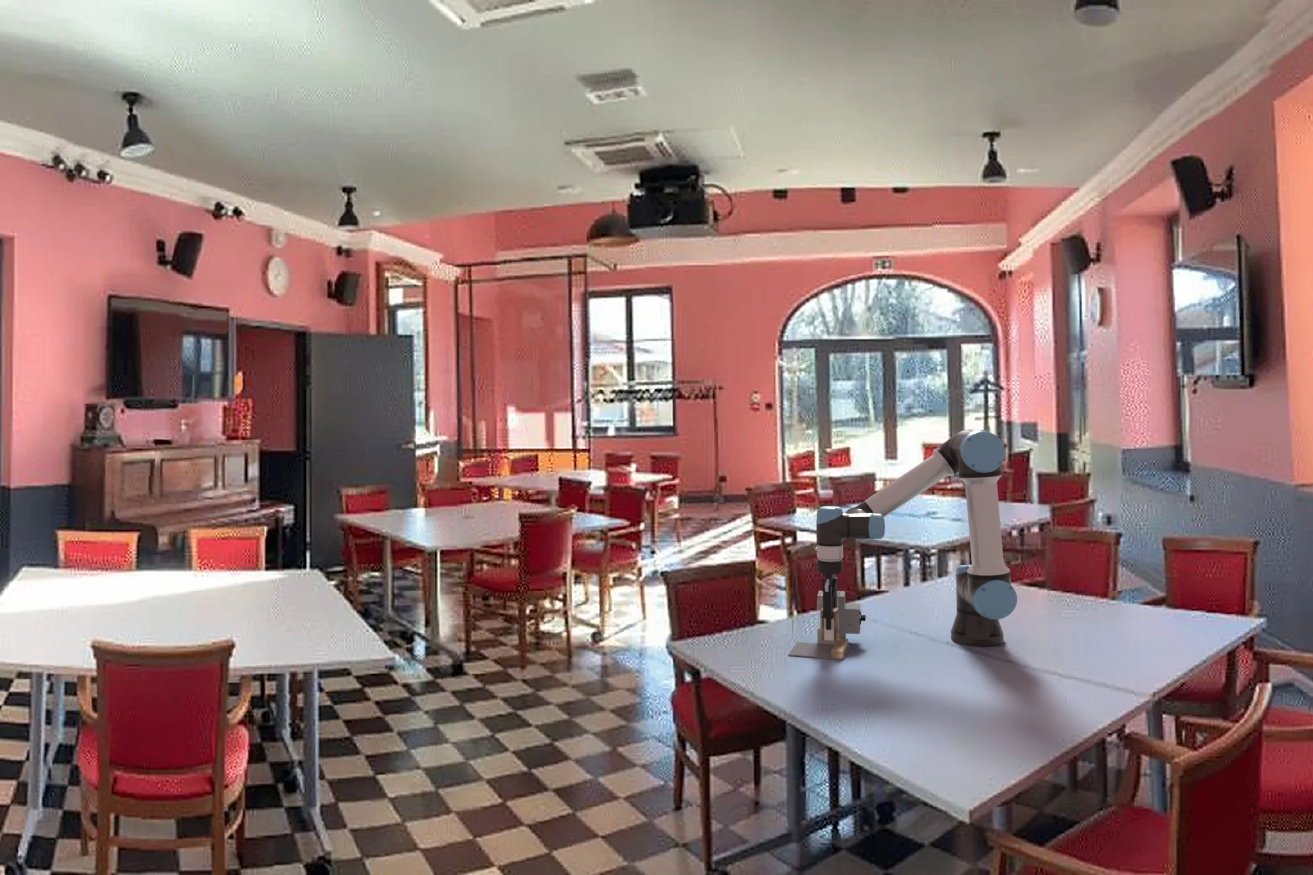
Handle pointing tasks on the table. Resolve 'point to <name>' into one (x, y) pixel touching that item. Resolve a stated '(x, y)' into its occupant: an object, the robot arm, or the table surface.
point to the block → (835, 616)
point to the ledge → (839, 648)
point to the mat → (814, 650)
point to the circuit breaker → (842, 617)
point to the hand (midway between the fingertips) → (830, 637)
